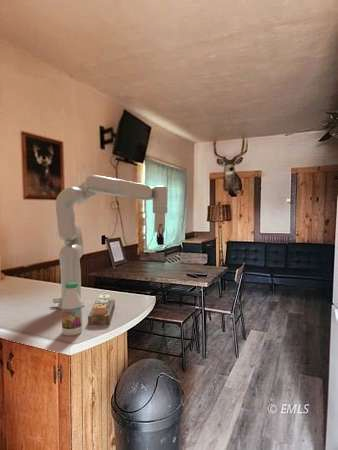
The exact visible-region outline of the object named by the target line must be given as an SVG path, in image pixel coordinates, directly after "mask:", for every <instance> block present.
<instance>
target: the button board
mask: <svg viewBox="0 0 338 450" xmlns="http://www.w3.org/2000/svg"><path fill="white" fill-rule="evenodd" d="M97 300H98V299H96V300H95V302H94V304H93V305H92V308H91V310H90V311H89V313H88V316H87V325H88V326H91V327H92V326H110V324H111V322H112V319H113V315H114V312H115V308H116V302H115V300H116V299H113V298H112V299H110V304H109V308H108V309H107V314H106V315H93V308H94V306H95V304H96V302H97Z"/></svg>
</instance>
